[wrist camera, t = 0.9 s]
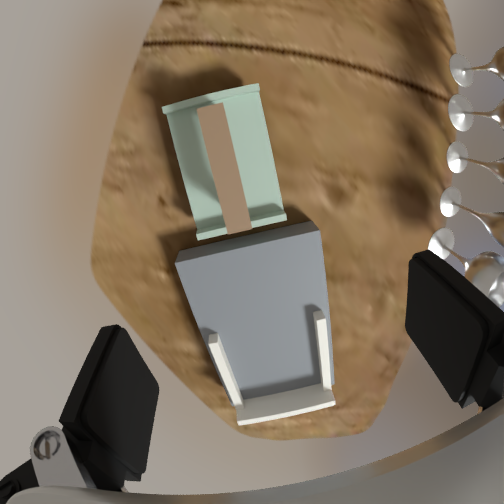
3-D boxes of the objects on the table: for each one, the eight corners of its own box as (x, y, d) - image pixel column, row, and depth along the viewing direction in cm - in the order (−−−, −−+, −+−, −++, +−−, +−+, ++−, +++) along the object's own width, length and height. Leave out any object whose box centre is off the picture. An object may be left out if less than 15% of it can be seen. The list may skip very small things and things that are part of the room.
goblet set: (444, 45, 23) (524, 31, 11) (475, 61, 24) (552, 57, 11) (419, 265, 34) (482, 323, 22) (450, 264, 34) (512, 317, 22)
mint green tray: (171, 109, 25) (148, 103, 18) (254, 89, 25) (264, 74, 18) (201, 226, 30) (192, 261, 23) (280, 208, 30) (297, 237, 22)
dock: (179, 250, 31) (168, 280, 25) (311, 220, 31) (331, 243, 25) (231, 390, 40) (232, 426, 34) (328, 369, 39) (341, 403, 33)
